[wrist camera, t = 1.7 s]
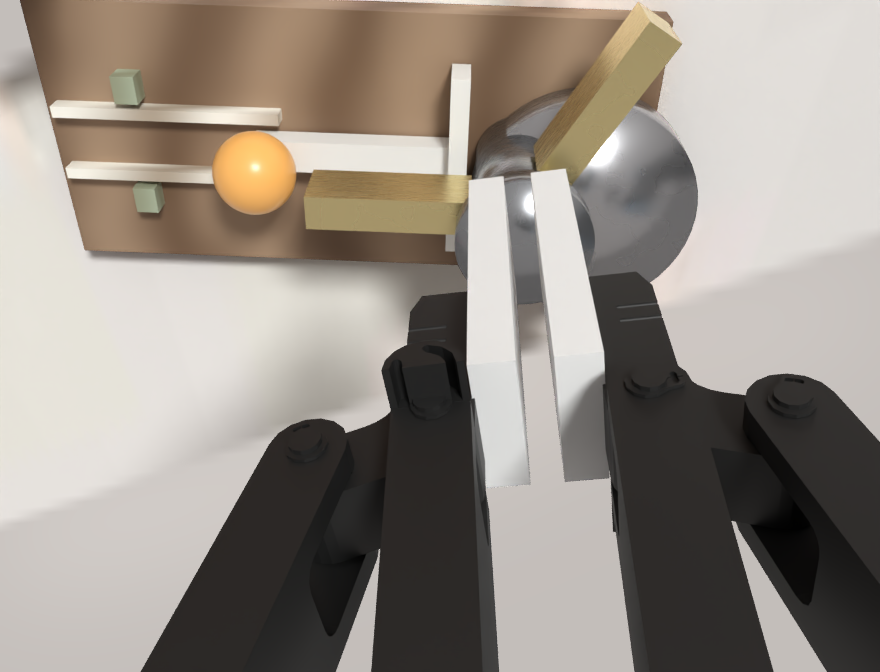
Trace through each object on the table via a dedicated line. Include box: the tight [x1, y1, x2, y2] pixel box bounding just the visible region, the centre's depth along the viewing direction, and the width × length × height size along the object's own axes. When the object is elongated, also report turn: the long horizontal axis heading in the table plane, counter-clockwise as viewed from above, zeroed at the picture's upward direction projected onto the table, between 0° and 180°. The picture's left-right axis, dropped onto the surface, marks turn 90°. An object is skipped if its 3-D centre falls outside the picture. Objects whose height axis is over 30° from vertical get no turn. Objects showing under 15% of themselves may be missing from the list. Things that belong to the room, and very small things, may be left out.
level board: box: [20, 0, 673, 265], centre depth 38 cm, size 27×12×2 cm, turn 89°
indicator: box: [212, 64, 471, 252], centre depth 36 cm, size 11×8×5 cm
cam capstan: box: [304, 2, 698, 304], centre depth 33 cm, size 16×14×8 cm
